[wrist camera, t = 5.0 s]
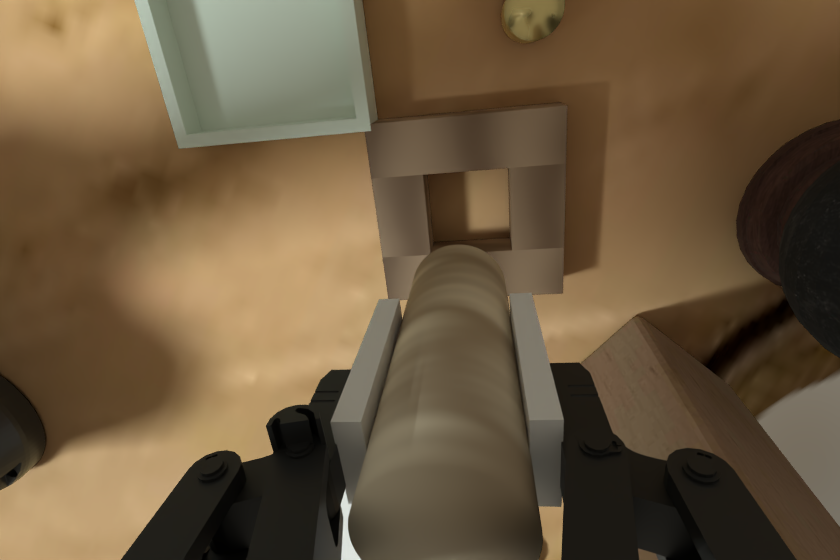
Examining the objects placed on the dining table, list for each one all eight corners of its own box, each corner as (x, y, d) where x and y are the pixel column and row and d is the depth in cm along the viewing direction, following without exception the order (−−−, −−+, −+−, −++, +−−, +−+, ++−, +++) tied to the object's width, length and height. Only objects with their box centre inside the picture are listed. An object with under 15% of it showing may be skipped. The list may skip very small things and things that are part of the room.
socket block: (394, 285, 36) (388, 300, 34) (371, 120, 31) (363, 124, 29) (557, 278, 34) (562, 293, 32) (560, 102, 30) (567, 105, 27)
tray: (199, 142, 33) (178, 148, 31) (136, -81, 28) (106, -94, 26) (378, 125, 31) (371, 130, 29) (347, -117, 26) (335, -133, 24)
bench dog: (501, 46, 29) (505, 43, 25) (500, -12, 27) (503, -23, 24) (553, 40, 28) (564, 37, 25) (553, -19, 27) (565, -31, 23)
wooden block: (635, 311, 35) (807, 579, 17) (730, 384, 37) (979, 701, 18) (541, 394, 39) (597, 685, 21) (630, 457, 40) (754, 777, 22)
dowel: (417, 329, 22) (362, 595, 11) (408, 247, 20) (332, 463, 9) (506, 326, 21) (541, 603, 10) (504, 241, 20) (543, 464, 9)
